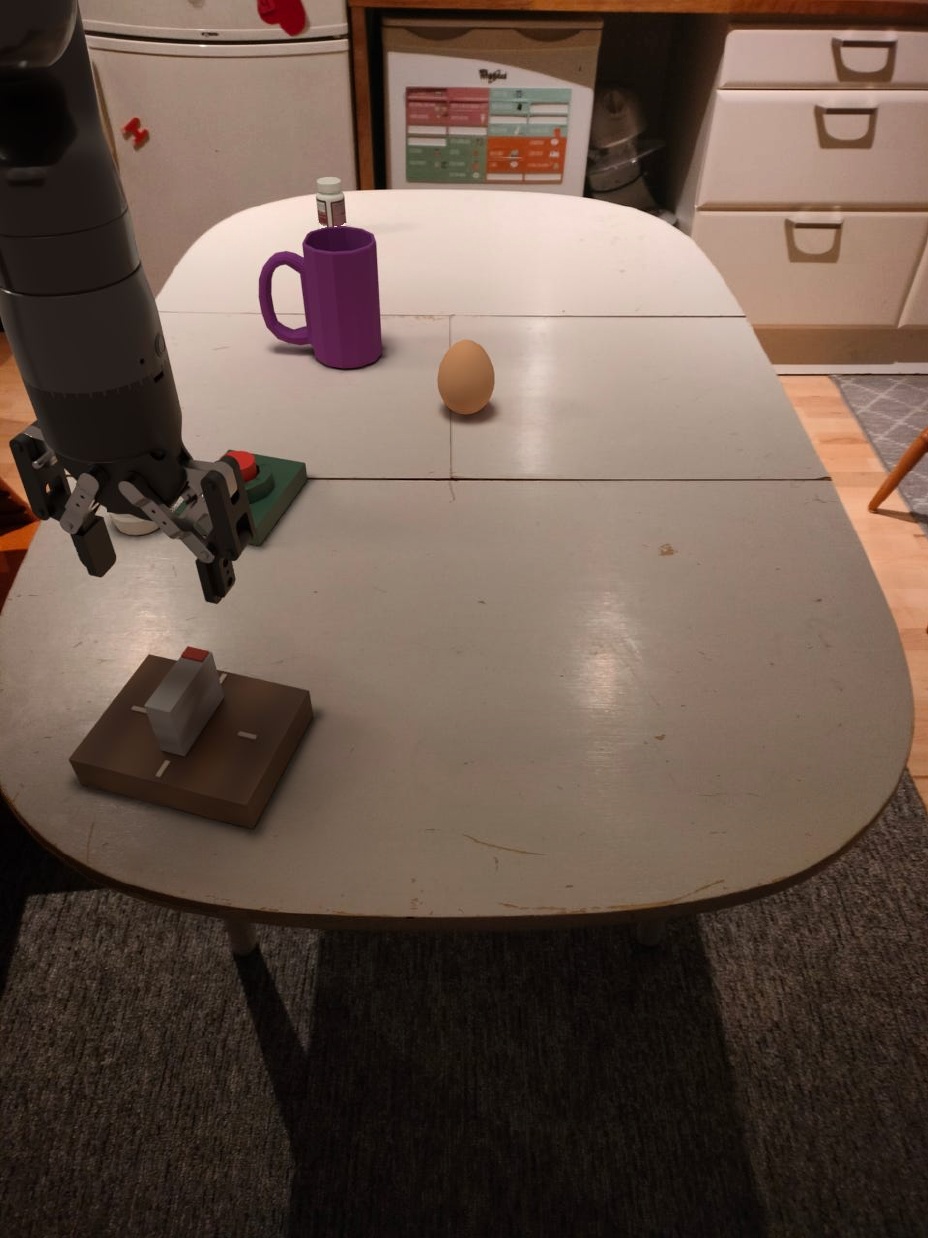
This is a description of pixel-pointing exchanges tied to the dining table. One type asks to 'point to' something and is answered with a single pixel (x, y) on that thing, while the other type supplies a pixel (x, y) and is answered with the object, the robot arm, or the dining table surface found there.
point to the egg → (466, 377)
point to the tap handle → (185, 701)
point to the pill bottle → (330, 202)
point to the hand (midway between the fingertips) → (161, 582)
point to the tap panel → (198, 747)
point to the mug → (332, 296)
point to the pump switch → (267, 492)
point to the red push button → (245, 464)
